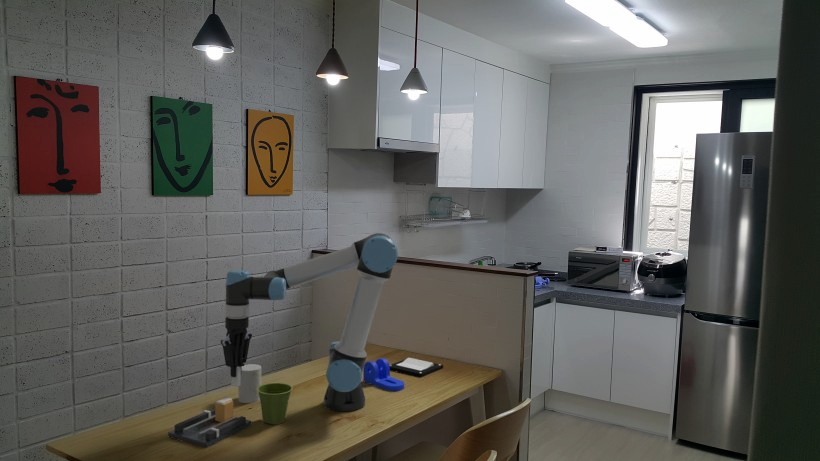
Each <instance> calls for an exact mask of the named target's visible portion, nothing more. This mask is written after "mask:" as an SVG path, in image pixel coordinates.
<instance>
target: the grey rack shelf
mask: <svg viewBox="0 0 820 461" xmlns="http://www.w3.org/2000/svg"><path fill="white" fill-rule="evenodd" d="M214 415H215V408H214V409H213V408H211V409H209V410H208V409H206V410H203V411H202V412H201V413H199V414H197V415H195V416H192V417H191V418H187V419H185V420H182V421H180V422H178V423H176V424H174V430H175V431H178V432H179V431H181V430H182V429H184V428H187V427H189V426H191V425H193V424H196V423H198V422H200V421H202V420H205V419H207V418H209V417H211V416H214ZM246 418H247V417H246V416H243V415H242V416H239V417H237V419H235V420H232V421H230V422H228V423H226V424H224V425H222V426H220V427H218V428H211V431H209V432H207V433H206V439H208V440H211V439H213V438H215V437H219V435H221V434H223V433H226V432H228V431H230V430H232V429H234V428H236V427H238V426H240V425H242V424H244V423H246V420H247V419H246Z"/></svg>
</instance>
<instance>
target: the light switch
mask: <svg viewBox="0 0 820 461" xmlns="http://www.w3.org/2000/svg"><path fill="white" fill-rule="evenodd" d="M389 365H390V371H391V370H394V371H393V372H395V371H397V372H396V373H400V372H401V374H404V373H405V374H404V375H407V376H413V377H416V378H417V377H418V378H423V377H425V376H426V377H427V376H429V375H431V374H432V373H435V372H438V371H440V370H442V369H444V364H439V363H437V362H436V363H435V362H431V361H426V360H421V359H418V358H413V357H407V358H405V359H401V360H399V361H397V362H393V363H391V364H389Z"/></svg>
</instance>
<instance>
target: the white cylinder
mask: <svg viewBox="0 0 820 461" xmlns="http://www.w3.org/2000/svg"><path fill="white" fill-rule="evenodd" d="M261 385H262V366H261V365H260V364H253V363H252V364H249V363H247V364H245V365H244V366H242V371H241V381H240V386H238V396H237V397H238V402H240V403H243V404H254V403H257V402H260V398H259V392H258V391H257V388H258V387H259V386H261Z"/></svg>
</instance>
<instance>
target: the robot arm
mask: <svg viewBox="0 0 820 461" xmlns="http://www.w3.org/2000/svg"><path fill="white" fill-rule="evenodd" d="M398 257H399V252H398V247H397V245H396V243H395V242H394V240H393V239H392V238H391V237H390V236H389V235H387V234H385V233H382V232H381V233H373V234H371V235H368V236H367V237H364V238H362V239H360V240H357V241H354V242H352V244H351V245H350V246H348V247H345V248H341V249H338V250H335V251H333V252H329V253H326V254H323V255H319V256H316V257H314V258H311V259H307V260H304V261H302V262H298V263H295V264H292V265H289V266H286V267H284V268H280V269H277V270H271V271H269V272H267V273H265V275H264V276H251V274H250V271H248V270H246V269H245V270H244V269H233V270H229V271H228V272H227V273H226V281H225V283H226V284H225V316H226V317H225V324H224V325H225V329H226V330H227V331H226V334H225V338H224V339H221V340H220V344H221V346H222V351H223V357H224V362H225V366H226V367H228V368H230V377H231V379H230V381H231V382H230V383H231V384H230V386H233V387H238V388H239V386H240V381H241V371H242V366H244V365H246V364H245V363H246V362H247V360H248V356H249V355H248V353H249V348H250V342H251V340H252V337H253V334H252V333H249V332H248V330H247V329H248V328H249V325H250V324H249V323H250V322H249V321H250V320H249V316H250V300H264V301H282V300H284V299H285V298H286V293H287V290H289V289H291V288H295V287H297V286H300V285H303V284H306V283H310V282H313V281H316V280H319V279H322V278H325V277H329V276H332V275H334V274H338V273H342V272H344V271H348V270H350V269H354V268H356V271H357V273H358V275H359V276H358V280H357V283H356V286H355V290H354V293H353V297H352V300H351V304H350V306H349V310H348V315H347V317H346V320H345V323H344V324H345V325H344V328H343V330H342V334H341V338H340V340H339V341H332V342H331V343H330V344H329V348H328V354H329V357H328V364H327V369H326V372H325V373H326V380H327V383H328V385H327V388H326V391H325V394H324V396H323V407H325V408H326V409H327V410H331V411H334V412H335V411H336V412H352V411H356V410H359V409H362V408H364V407H365V405H366V396H365V392H364V389H363V385H362V380H363V379H362V378H363V371H364V364H365V363H366V360H367V357H368V354H367V352H366V350H365V347H366V343H367V340H368V336H369V334H370V331H371V326H372V324H373V321H374V317H375V314H376V311H377V310H376V309H377V307H378V304H379V301H380V296H381V294H382V289H383V287H384V283H386V282H387V281H388V280H390V279H391V276H392V272H393V269H394V266H395V265H396V263H397V260H398Z"/></svg>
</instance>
